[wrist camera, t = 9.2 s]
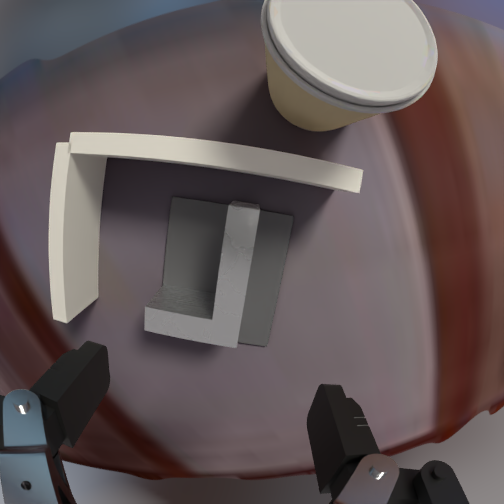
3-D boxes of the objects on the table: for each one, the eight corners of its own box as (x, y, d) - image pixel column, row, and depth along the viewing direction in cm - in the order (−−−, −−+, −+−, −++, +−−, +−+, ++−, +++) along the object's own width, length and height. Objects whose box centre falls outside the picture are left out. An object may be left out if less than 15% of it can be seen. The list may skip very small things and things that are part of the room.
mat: (161, 326, 26) (160, 327, 26) (173, 196, 24) (172, 196, 23) (266, 344, 27) (266, 346, 26) (293, 215, 24) (293, 216, 24)
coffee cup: (379, 131, 22) (465, 103, 11) (276, 152, 23) (296, 124, 11) (347, 38, 20) (399, -36, 8) (245, 53, 21) (238, -33, 9)
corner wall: (86, 294, 26) (53, 318, 20) (96, 140, 22) (58, 132, 17) (301, 335, 26) (312, 372, 21) (337, 172, 23) (363, 170, 17)
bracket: (239, 318, 26) (236, 348, 21) (162, 304, 26) (144, 330, 21) (258, 204, 24) (260, 210, 19) (173, 191, 23) (153, 194, 18)
